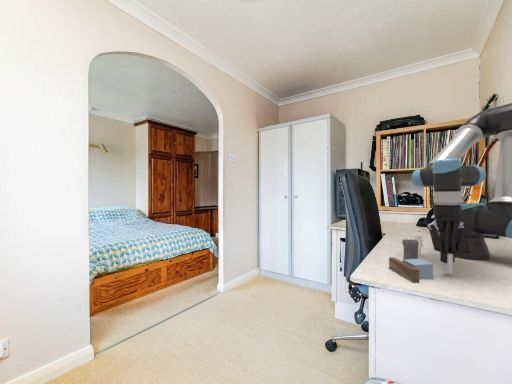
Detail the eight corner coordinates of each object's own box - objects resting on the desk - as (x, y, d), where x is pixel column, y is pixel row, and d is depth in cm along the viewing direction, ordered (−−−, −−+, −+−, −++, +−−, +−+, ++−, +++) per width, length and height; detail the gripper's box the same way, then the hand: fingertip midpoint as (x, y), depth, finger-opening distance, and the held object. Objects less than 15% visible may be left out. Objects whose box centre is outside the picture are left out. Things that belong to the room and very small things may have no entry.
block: (421, 272, 85) (420, 258, 85) (433, 278, 79) (432, 263, 79) (404, 273, 85) (403, 259, 85) (415, 280, 79) (414, 265, 79)
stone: (420, 267, 90) (420, 241, 90) (403, 265, 92) (403, 240, 92) (417, 264, 94) (418, 239, 93) (400, 263, 95) (401, 238, 95)
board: (394, 267, 90) (394, 257, 90) (419, 282, 76) (419, 270, 76) (389, 268, 90) (389, 257, 90) (413, 282, 76) (413, 270, 76)
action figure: (425, 255, 105) (424, 229, 105) (421, 257, 103) (421, 229, 103) (409, 252, 110) (408, 227, 110) (405, 254, 108) (405, 228, 108)
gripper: (457, 202, 85) (457, 268, 85) (420, 203, 85) (421, 268, 86) (476, 204, 78) (476, 275, 78) (435, 205, 78) (436, 276, 78)
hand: (447, 271), depth 82 cm, fingers closed
